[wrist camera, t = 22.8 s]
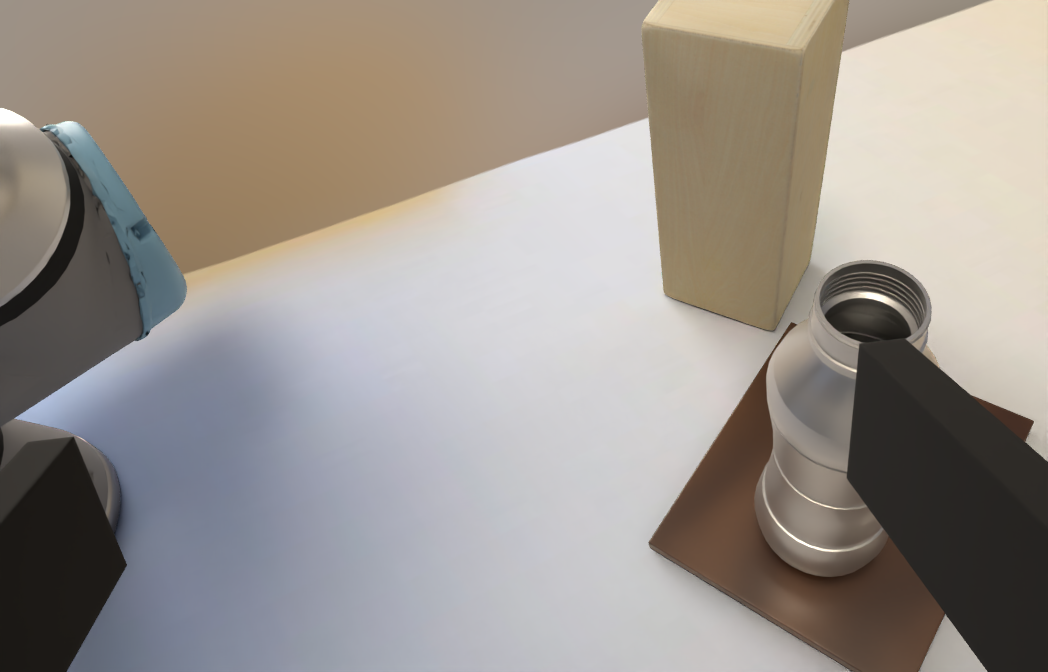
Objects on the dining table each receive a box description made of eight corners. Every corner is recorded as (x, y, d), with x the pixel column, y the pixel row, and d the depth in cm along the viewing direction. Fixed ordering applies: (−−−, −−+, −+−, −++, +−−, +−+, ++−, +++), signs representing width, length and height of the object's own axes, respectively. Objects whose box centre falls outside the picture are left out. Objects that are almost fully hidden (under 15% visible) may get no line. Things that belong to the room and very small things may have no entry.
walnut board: (649, 547, 44) (647, 542, 43) (790, 328, 50) (791, 321, 50) (902, 702, 37) (905, 698, 37) (1030, 427, 43) (1034, 420, 43)
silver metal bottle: (836, 451, 44) (898, 201, 28) (910, 561, 40) (1032, 339, 24) (730, 496, 44) (733, 269, 28) (794, 610, 40) (840, 420, 24)
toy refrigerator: (818, 252, 53) (860, -44, 36) (777, 334, 50) (801, 53, 33) (708, 221, 57) (700, -61, 40) (663, 296, 54) (633, 25, 37)
